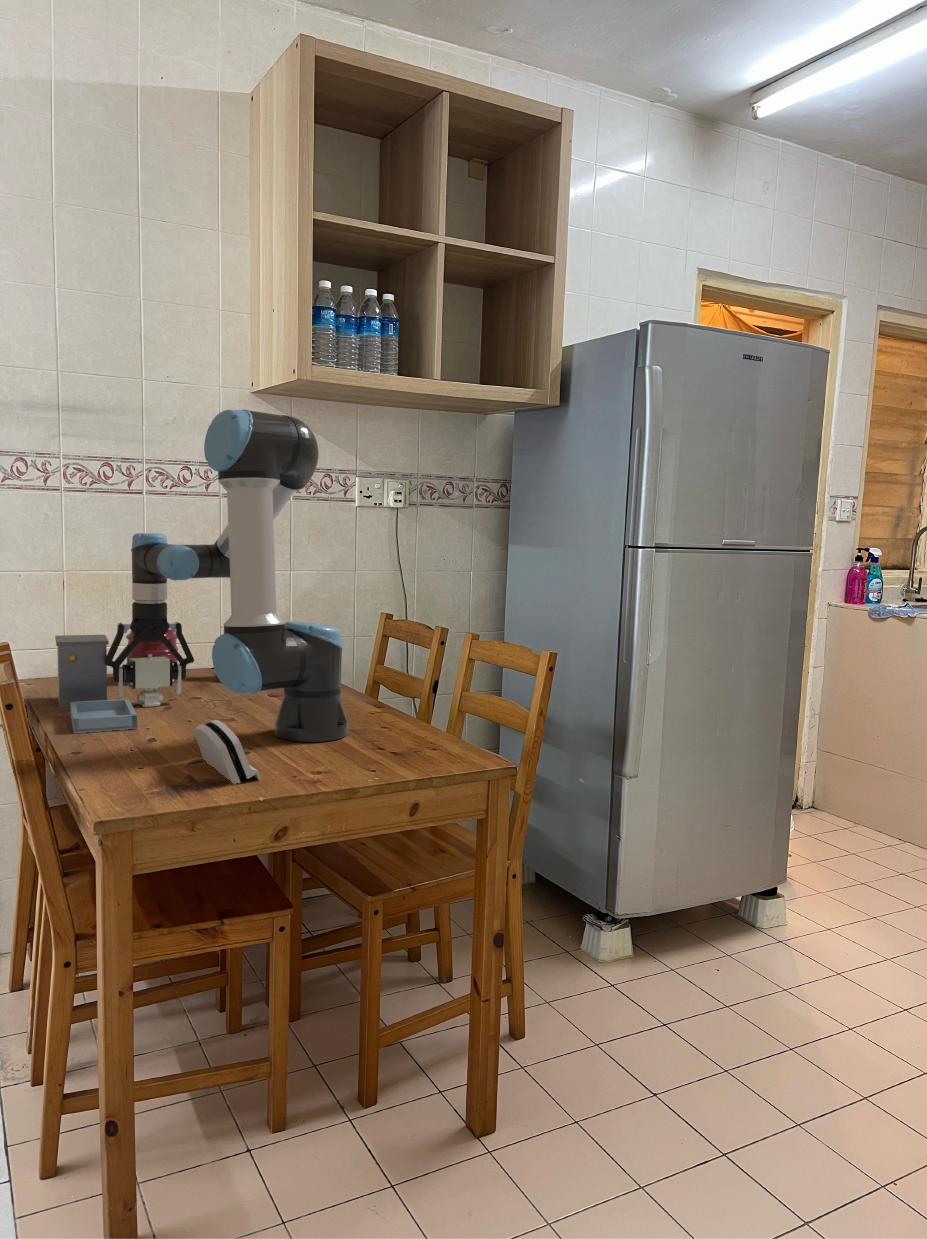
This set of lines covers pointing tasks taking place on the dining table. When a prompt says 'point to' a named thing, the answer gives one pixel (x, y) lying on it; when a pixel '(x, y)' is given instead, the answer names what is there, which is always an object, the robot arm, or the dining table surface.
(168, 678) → the pneumatic valve
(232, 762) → the grey curved fin
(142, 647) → the canister
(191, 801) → the dining table surface
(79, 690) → the box
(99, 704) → the tray
